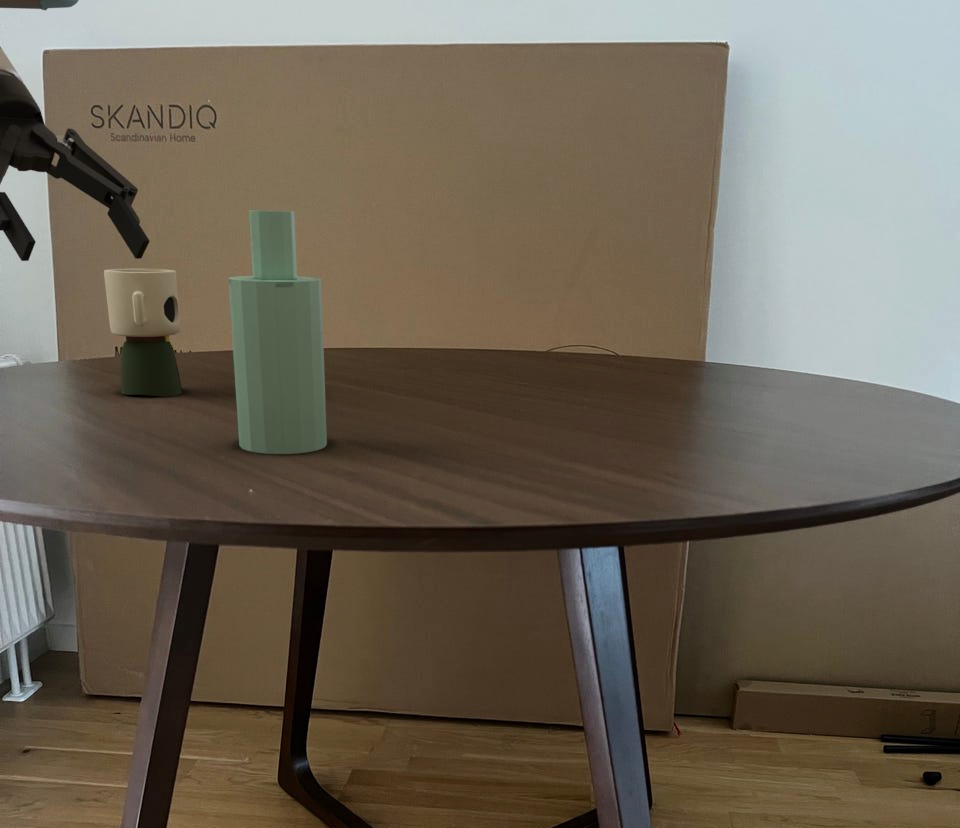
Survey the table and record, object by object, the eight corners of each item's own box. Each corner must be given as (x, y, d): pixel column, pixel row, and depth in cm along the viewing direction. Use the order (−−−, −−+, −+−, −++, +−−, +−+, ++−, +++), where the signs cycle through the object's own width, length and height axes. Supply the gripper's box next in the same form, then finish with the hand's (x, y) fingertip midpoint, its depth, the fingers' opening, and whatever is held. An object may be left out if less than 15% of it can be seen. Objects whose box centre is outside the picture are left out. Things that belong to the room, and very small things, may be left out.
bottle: (248, 463, 83) (232, 209, 76) (234, 445, 89) (217, 209, 82) (335, 458, 86) (328, 212, 78) (315, 441, 92) (306, 211, 85)
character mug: (184, 406, 106) (172, 273, 101) (111, 407, 105) (96, 272, 100) (189, 389, 116) (179, 267, 111) (123, 390, 115) (110, 266, 110)
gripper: (85, 134, 124) (172, 272, 122) (-132, 117, 106) (-35, 279, 104) (105, 82, 119) (197, 225, 117) (-119, 55, 101) (-17, 223, 98)
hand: (88, 251), depth 110 cm, fingers open, 13 cm apart
